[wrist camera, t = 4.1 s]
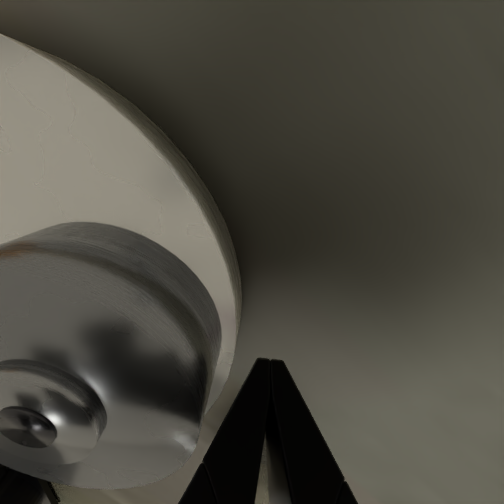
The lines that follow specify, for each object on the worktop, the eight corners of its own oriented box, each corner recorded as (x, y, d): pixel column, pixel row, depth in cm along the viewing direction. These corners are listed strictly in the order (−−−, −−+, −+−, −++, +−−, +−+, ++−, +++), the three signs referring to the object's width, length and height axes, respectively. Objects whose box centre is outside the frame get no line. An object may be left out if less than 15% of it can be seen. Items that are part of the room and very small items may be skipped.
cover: (220, 410, 10) (197, 531, 7) (41, 388, 11) (-60, 494, 8) (224, 233, 7) (183, 307, 4) (-32, 211, 8) (-265, 262, 4)
